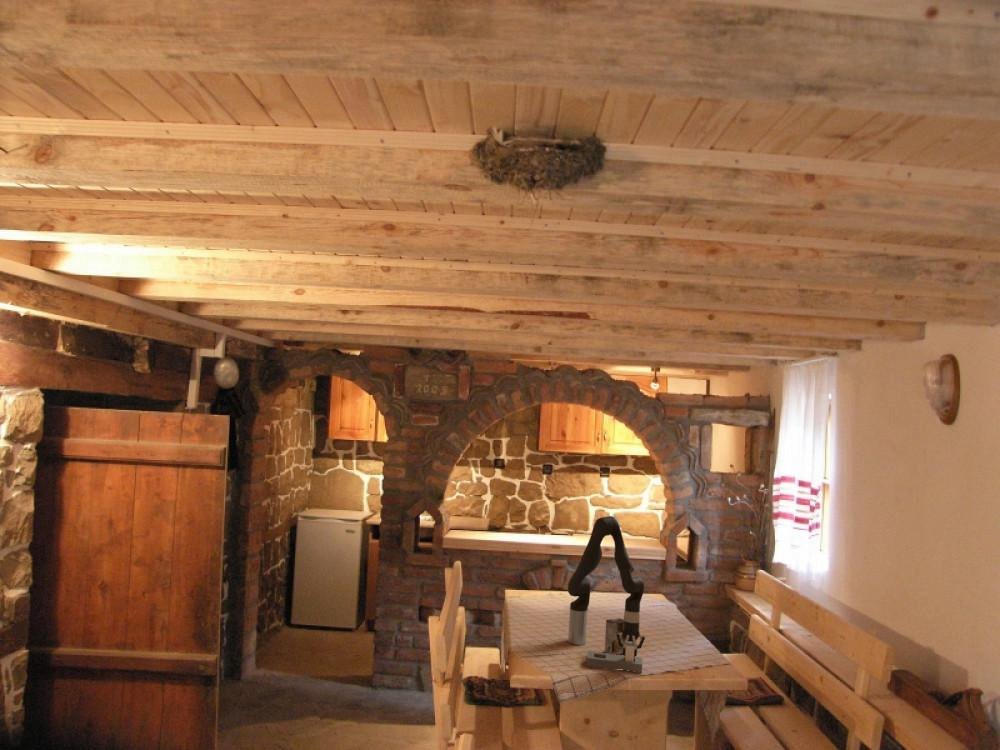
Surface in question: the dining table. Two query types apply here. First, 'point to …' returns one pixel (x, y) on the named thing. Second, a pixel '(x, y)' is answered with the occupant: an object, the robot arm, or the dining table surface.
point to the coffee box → (613, 636)
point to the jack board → (613, 662)
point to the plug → (629, 652)
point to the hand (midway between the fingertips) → (629, 655)
